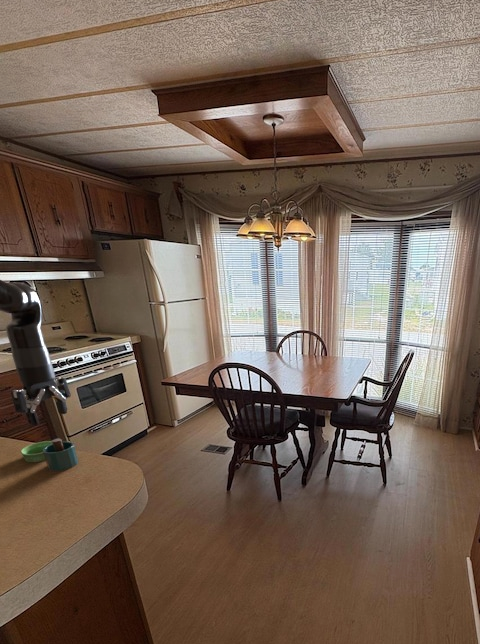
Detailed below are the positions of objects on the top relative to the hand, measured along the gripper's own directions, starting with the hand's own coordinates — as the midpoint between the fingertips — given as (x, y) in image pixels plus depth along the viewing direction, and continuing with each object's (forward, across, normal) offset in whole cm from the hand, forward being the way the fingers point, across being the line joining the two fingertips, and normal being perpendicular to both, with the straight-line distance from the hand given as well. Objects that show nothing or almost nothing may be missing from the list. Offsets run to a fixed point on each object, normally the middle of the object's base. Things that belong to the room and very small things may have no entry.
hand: (49, 418), depth 97 cm
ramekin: (+17, -3, -11) cm, 20 cm away
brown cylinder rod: (+16, 0, 0) cm, 16 cm away
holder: (+17, 0, 0) cm, 17 cm away
